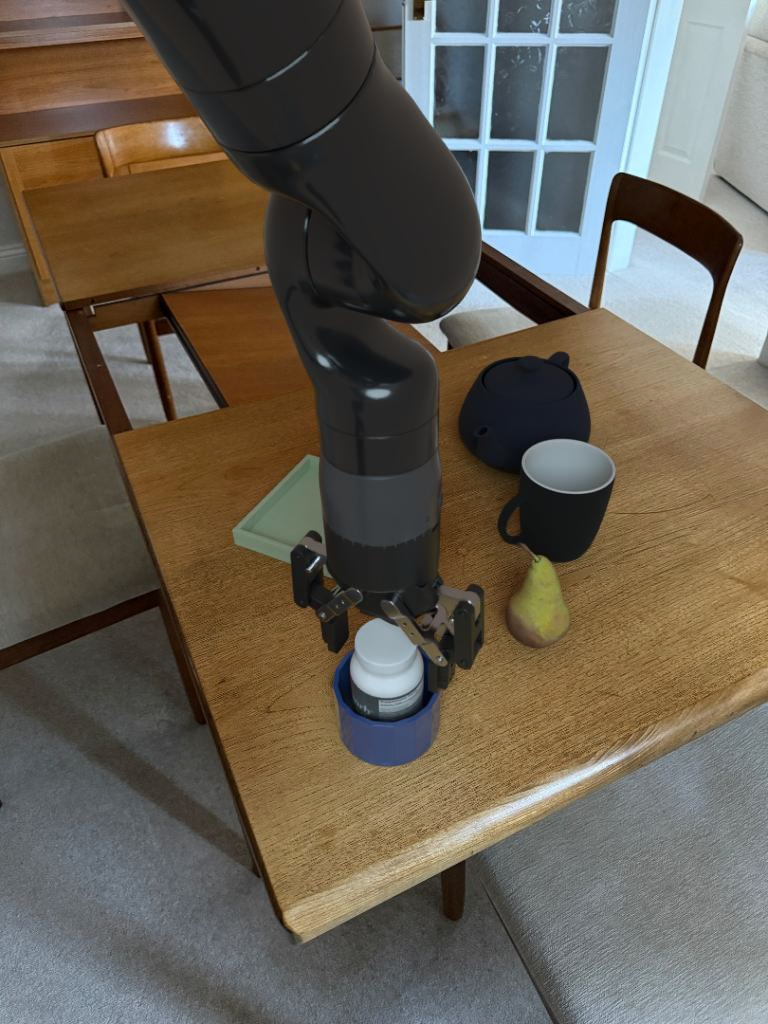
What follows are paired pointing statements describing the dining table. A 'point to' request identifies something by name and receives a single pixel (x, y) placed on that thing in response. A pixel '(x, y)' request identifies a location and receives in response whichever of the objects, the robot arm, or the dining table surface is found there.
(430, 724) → the pen cup
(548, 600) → the fruit
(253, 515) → the tray
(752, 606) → the dining table surface
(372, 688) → the pill bottle
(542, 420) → the teapot
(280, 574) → the dining table surface
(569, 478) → the mug
